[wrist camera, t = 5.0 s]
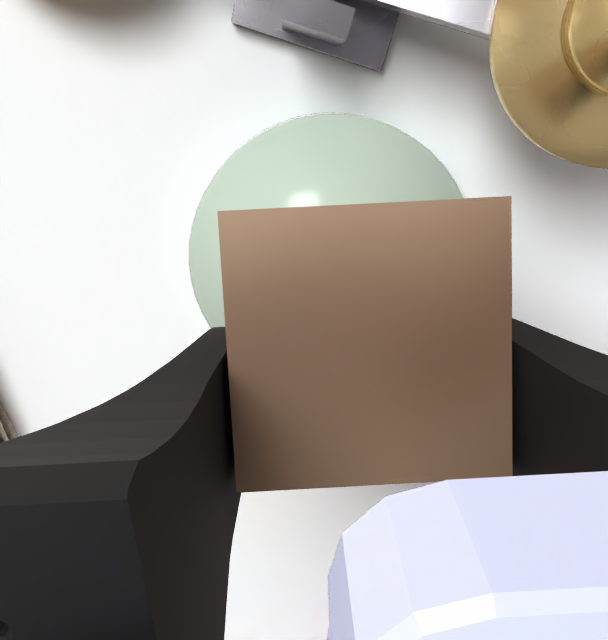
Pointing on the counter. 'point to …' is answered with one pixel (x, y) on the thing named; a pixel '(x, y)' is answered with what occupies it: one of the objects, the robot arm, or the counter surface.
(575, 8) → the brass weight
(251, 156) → the dish
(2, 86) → the counter surface
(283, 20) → the balance stand
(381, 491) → the counter surface
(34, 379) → the counter surface
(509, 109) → the balance beam
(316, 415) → the walnut block
